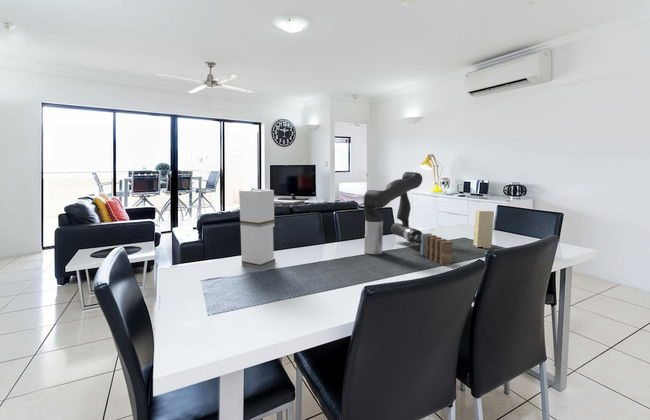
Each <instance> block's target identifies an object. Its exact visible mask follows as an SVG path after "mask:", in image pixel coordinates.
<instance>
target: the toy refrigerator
mask: <svg viewBox="0 0 650 420" xmlns="http://www.w3.org/2000/svg"><path fill="white" fill-rule="evenodd" d="M474 214H475V215H474V226H473V227H474V231H473V243H472V244H473V246H474V245H475V246H476V247H475V246H474V247H475V248H477V247H483V248H482V249H492V246H493V245H492V244H493V242H492V241H493V231H494V230H493V229H494V215H495V211H494V210H491V209H475V212H474Z"/></svg>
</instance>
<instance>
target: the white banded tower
mask: <svg viewBox="0 0 650 420" xmlns="http://www.w3.org/2000/svg"><path fill="white" fill-rule="evenodd" d="M238 191H239V192H238V194H239V195H238V196H239V197H238V198H239V221H240V226H239V227H240V249H241V250H240V251H241V255H240V256H241V266H243V265H245V267H248V266H250V267H249V268H253V267H255V268H254V269H258V268H259V270H261V268H262V269H264V268H266V266H267V267H268V266H271V264H272V265H274V264H276V258H274V255H275V254H274V252H275V251H274V228H275V227H276V226H275V193H274V192H275V189H260V188H259V189H257V188H254V189H253V190H238Z"/></svg>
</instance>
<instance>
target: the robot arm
mask: <svg viewBox="0 0 650 420" xmlns="http://www.w3.org/2000/svg"><path fill="white" fill-rule="evenodd" d="M422 183H423V175H422V174H421V173H420V172H416V171H415V172H413V171H405V172H404V173H403V174H402V177H401V178H399V179H395V180H393V181H391V182H389V183H388V184H387V185H386V187H385V189H384V190H376V189H375V190H373V189H369V190H366V191H365V192H364V196H363V210H364V211H363V212H364V213H363V214H364V218H365V221H364V222H365V223H364V225H365V227H364V229H365V230H364V250H363V251H364V254H368V255H381V254H383V240H384V239H383V238H384V237H383V234H384V233H383V232H384V231H383V230H384V229H383V228H384V226H383V225H384V216H383V215H382V214H381V213H379V212H378V211H377V210H376V209H383V208H384V207H386V206H387V205H388V204H390V202H391V201H394V200H395V199H397V198H399V197H400V198H399V206H398V209H397V215H396V219H398V220H399V221H401V223H397V222H395V223H393V224H392V225H391V228H390V230H391V233H392V234H393V235H395V236H398V237H401V238H404V239H405V240H406V241H407V242H409V243H411V244H419V245H421V234H423V232H422V231H421V230H419V229H417V228H413V227H410V224H409V223H410V221H409V220H410V214H411V202H410V199H409V195H408V192H410V191H411V190H414V189H418V188H419V187H420V186H421V184H422Z"/></svg>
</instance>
